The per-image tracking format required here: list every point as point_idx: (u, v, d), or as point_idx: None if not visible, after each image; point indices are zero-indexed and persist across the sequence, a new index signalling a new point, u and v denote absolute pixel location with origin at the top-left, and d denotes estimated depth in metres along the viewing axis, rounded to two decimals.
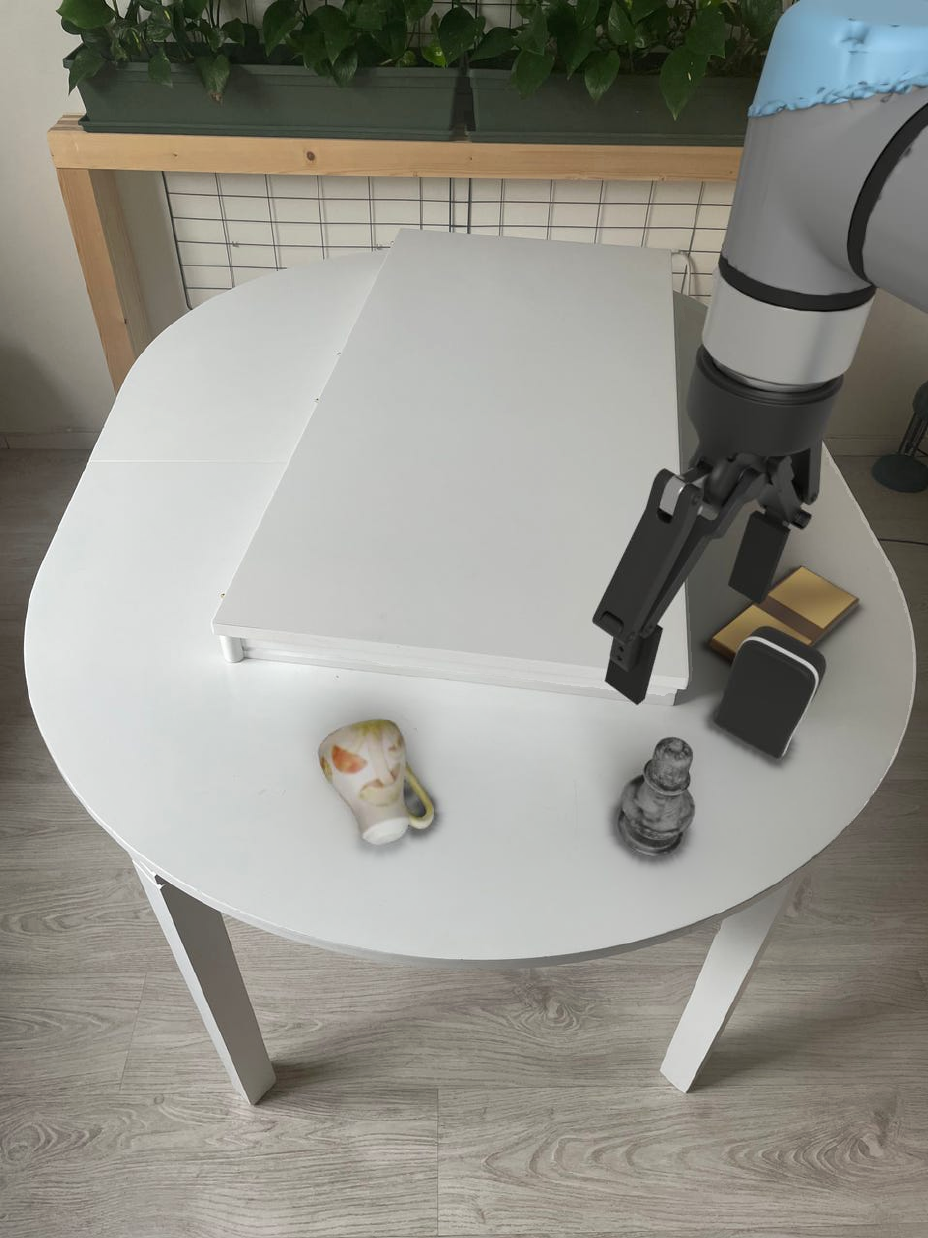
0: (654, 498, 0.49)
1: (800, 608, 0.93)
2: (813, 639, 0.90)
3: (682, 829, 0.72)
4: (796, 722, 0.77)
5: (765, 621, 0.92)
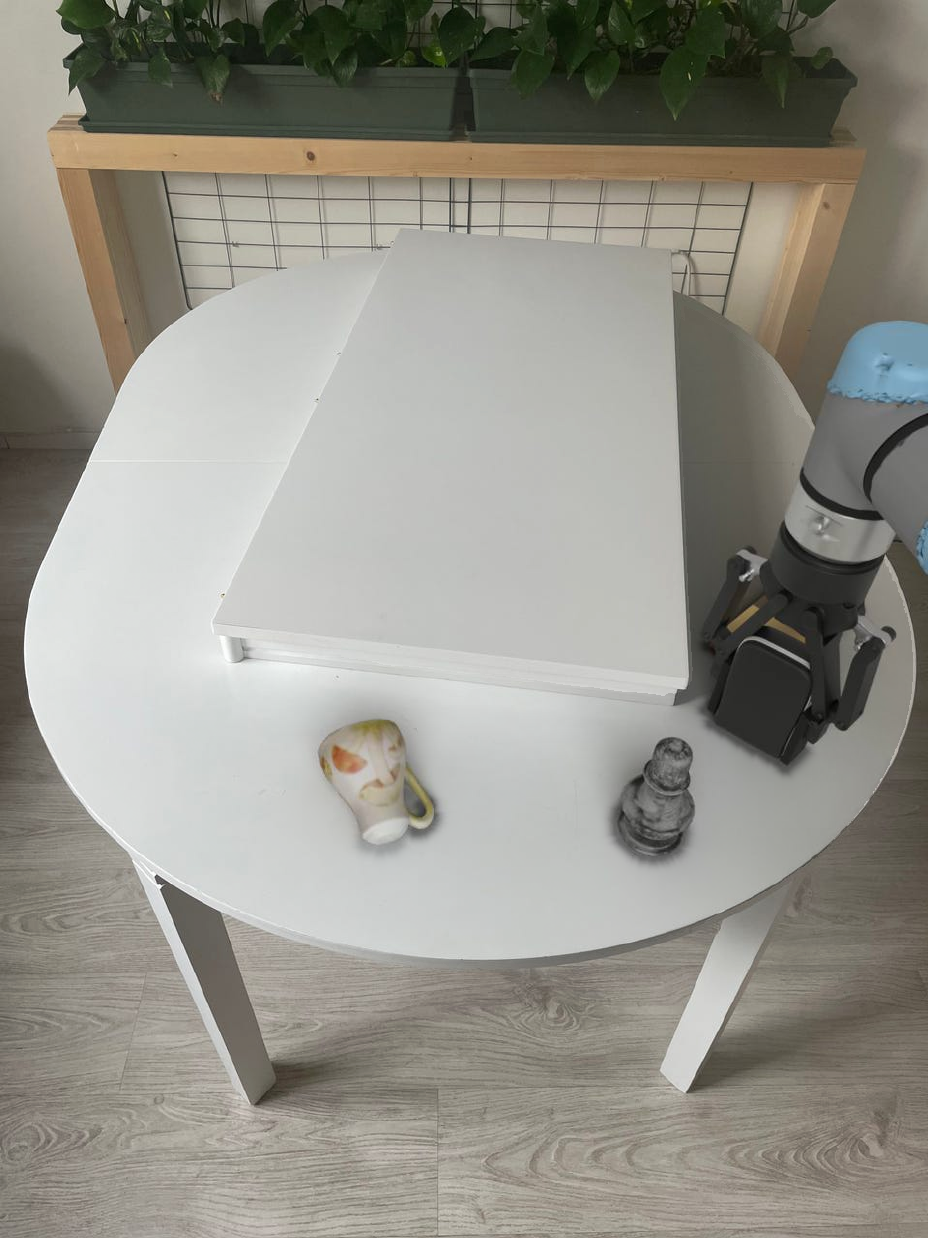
0: (875, 658, 0.69)
1: None
2: None
3: (682, 829, 0.72)
4: (795, 722, 0.77)
5: None
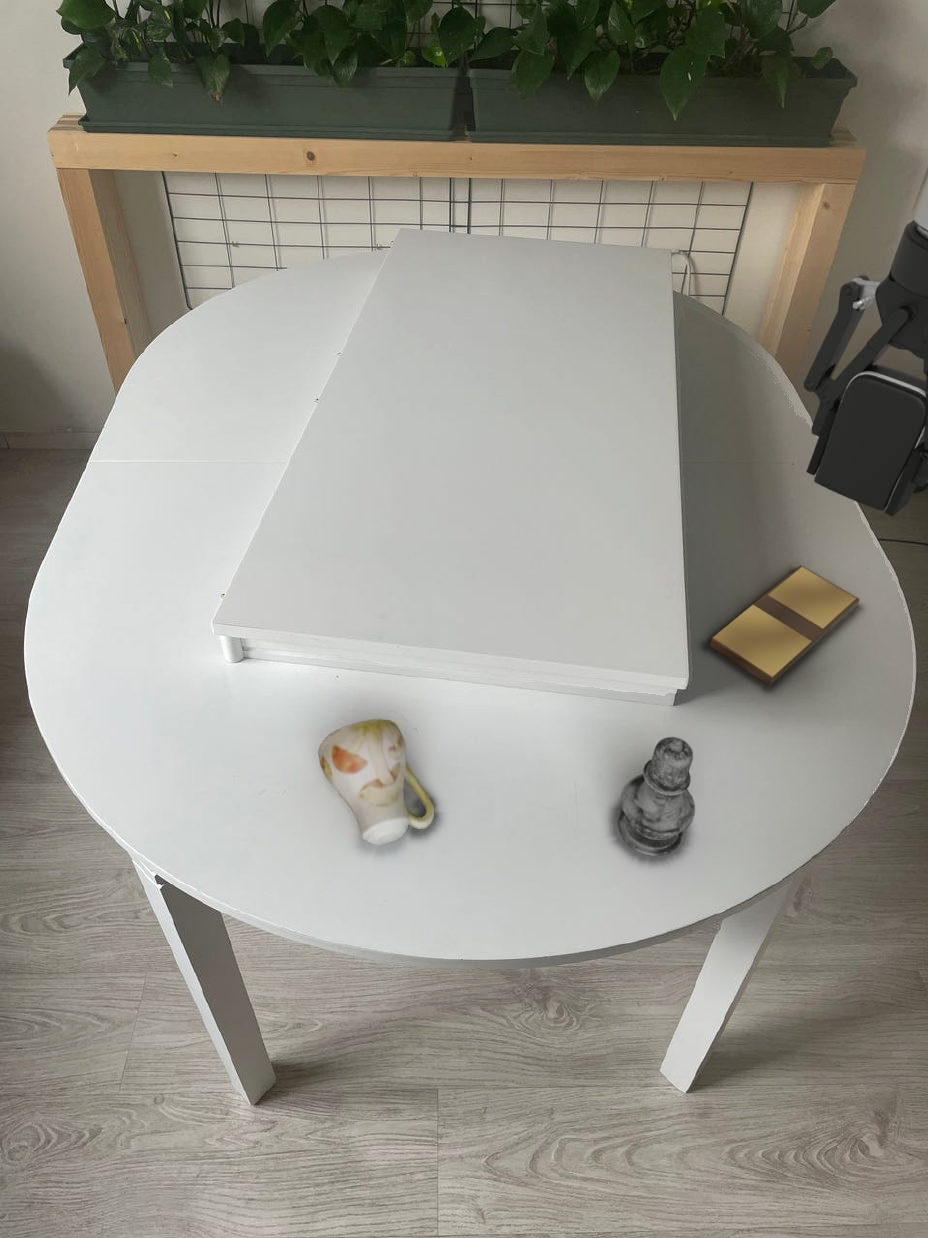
0: None
1: (800, 608, 0.93)
2: (813, 639, 0.90)
3: (682, 829, 0.72)
4: (905, 461, 0.76)
5: (765, 621, 0.92)
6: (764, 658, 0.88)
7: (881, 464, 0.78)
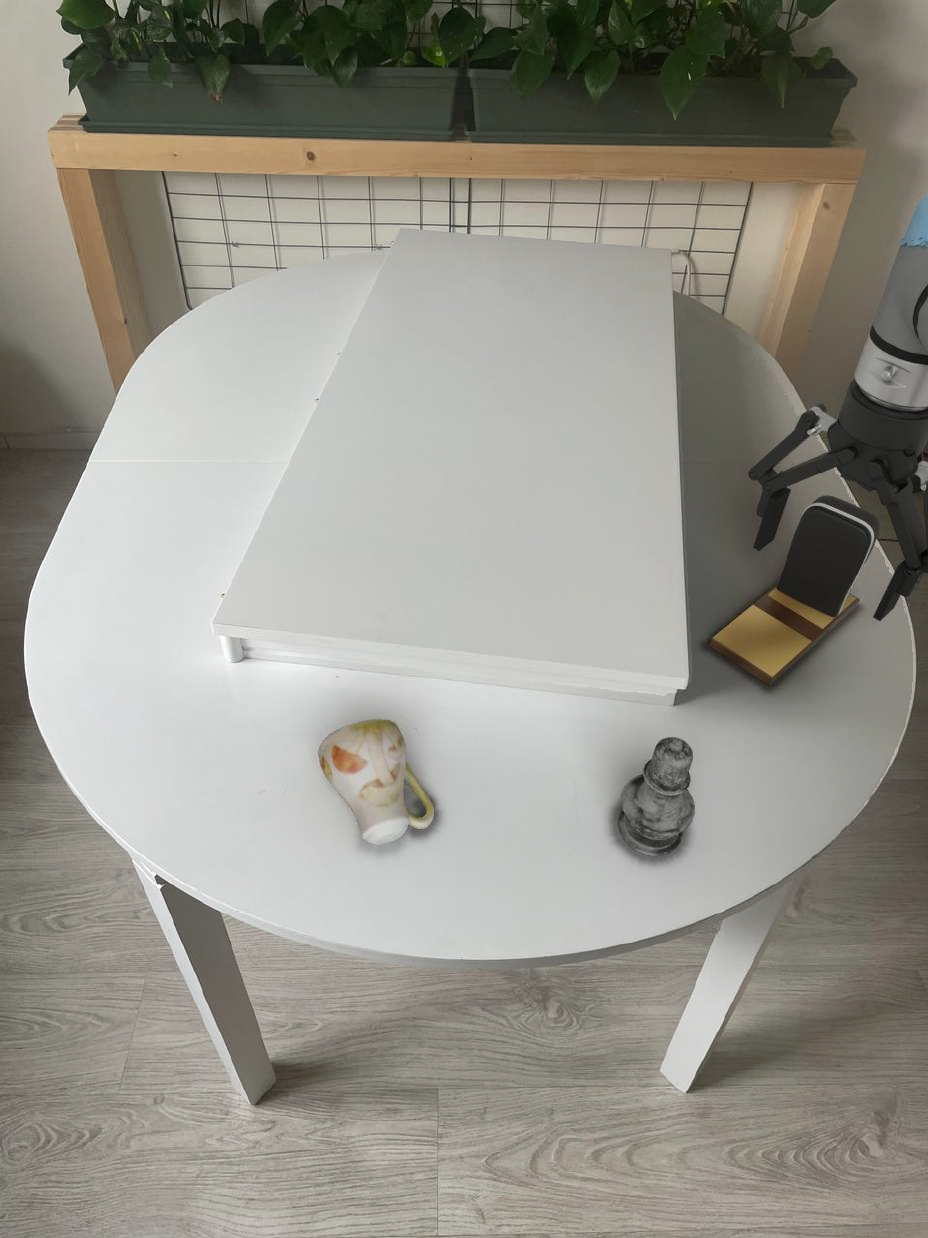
0: None
1: (800, 608, 0.93)
2: (813, 639, 0.90)
3: (682, 829, 0.72)
4: (852, 579, 0.88)
5: (765, 621, 0.92)
6: (764, 658, 0.88)
7: (832, 580, 0.89)
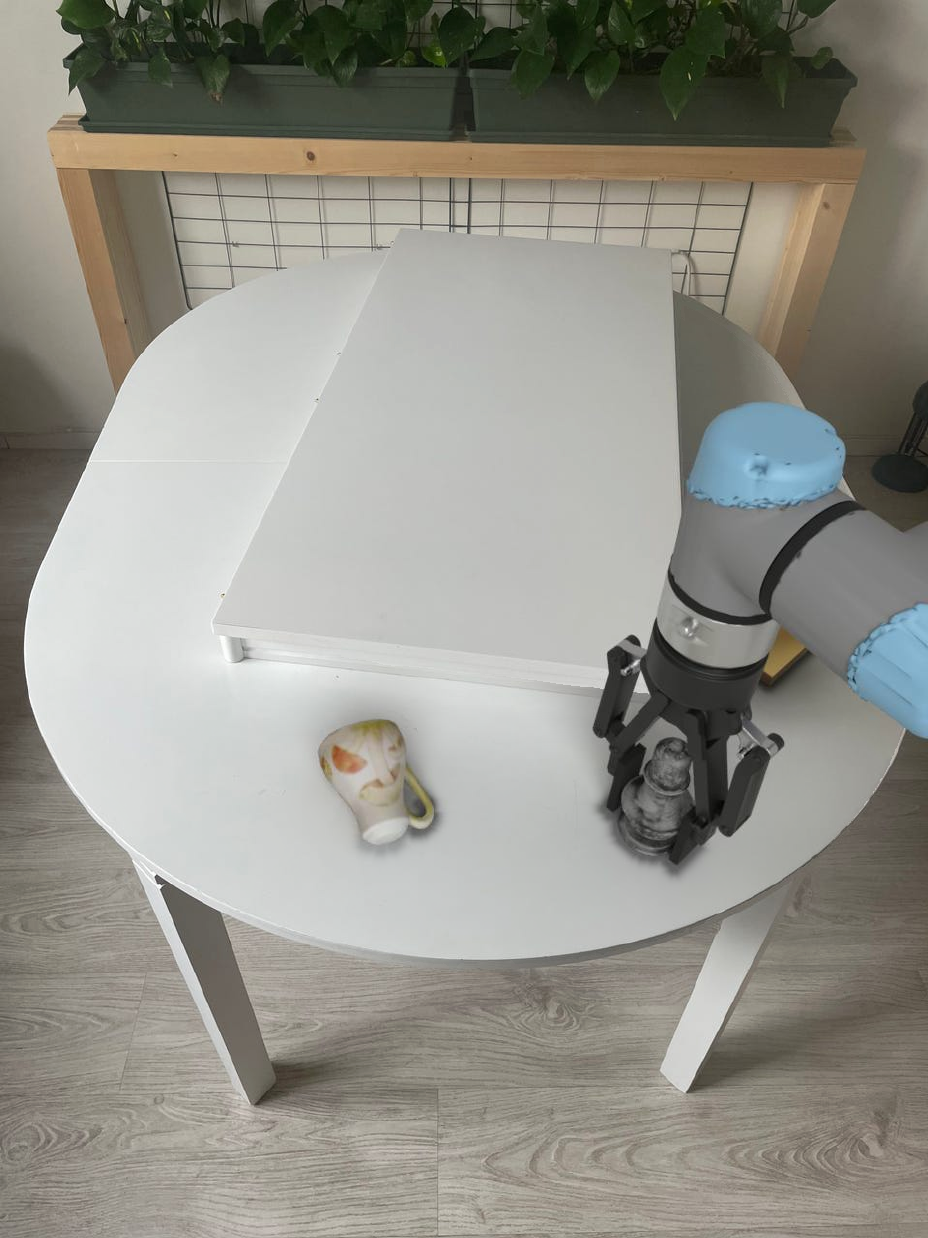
0: (759, 769, 0.61)
1: None
2: None
3: None
4: None
5: None
6: None
7: None
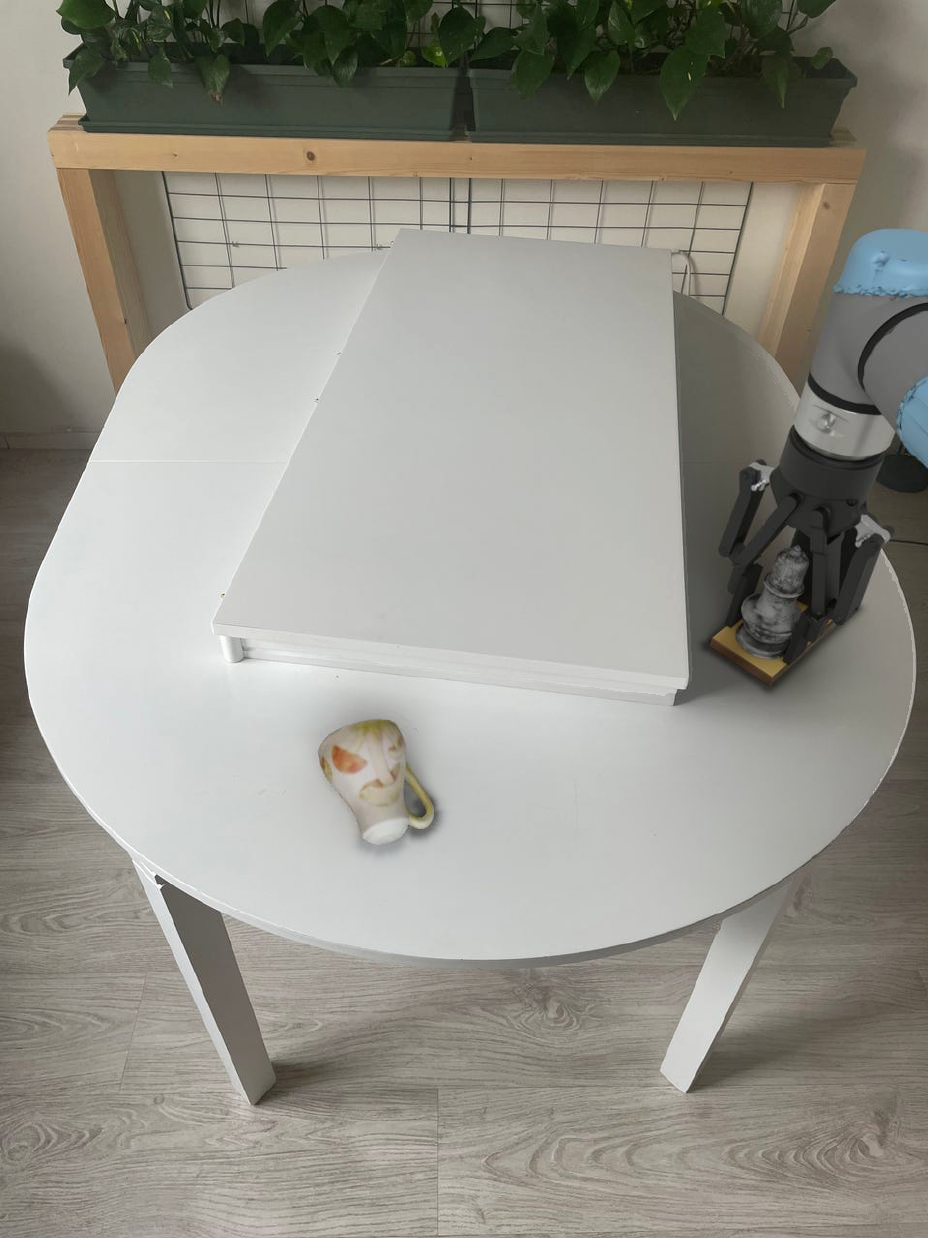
0: (874, 553, 0.75)
1: None
2: None
3: None
4: None
5: None
6: None
7: None
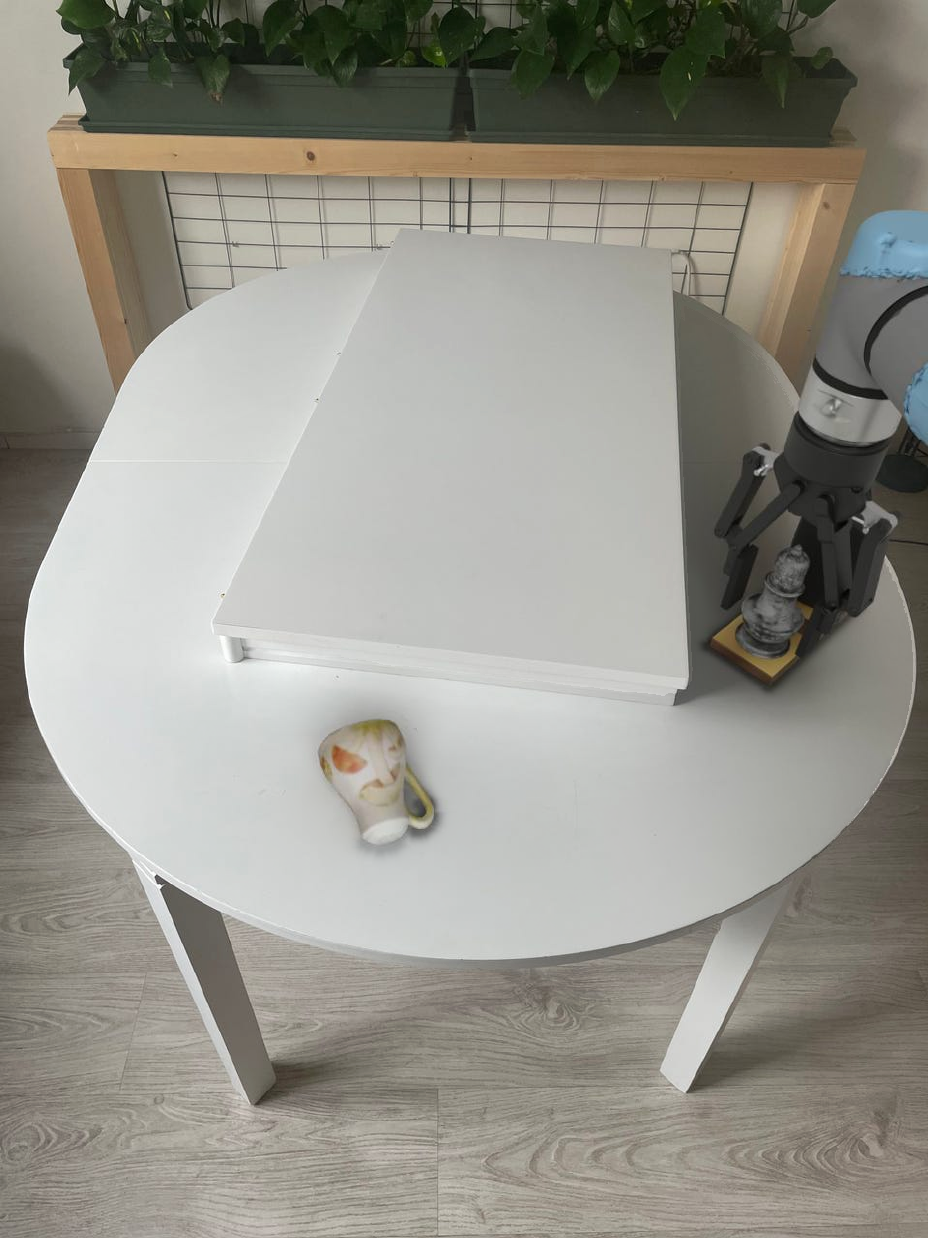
0: (883, 539, 0.74)
1: (800, 608, 0.93)
2: None
3: (795, 631, 0.86)
4: (852, 579, 0.88)
5: None
6: None
7: None
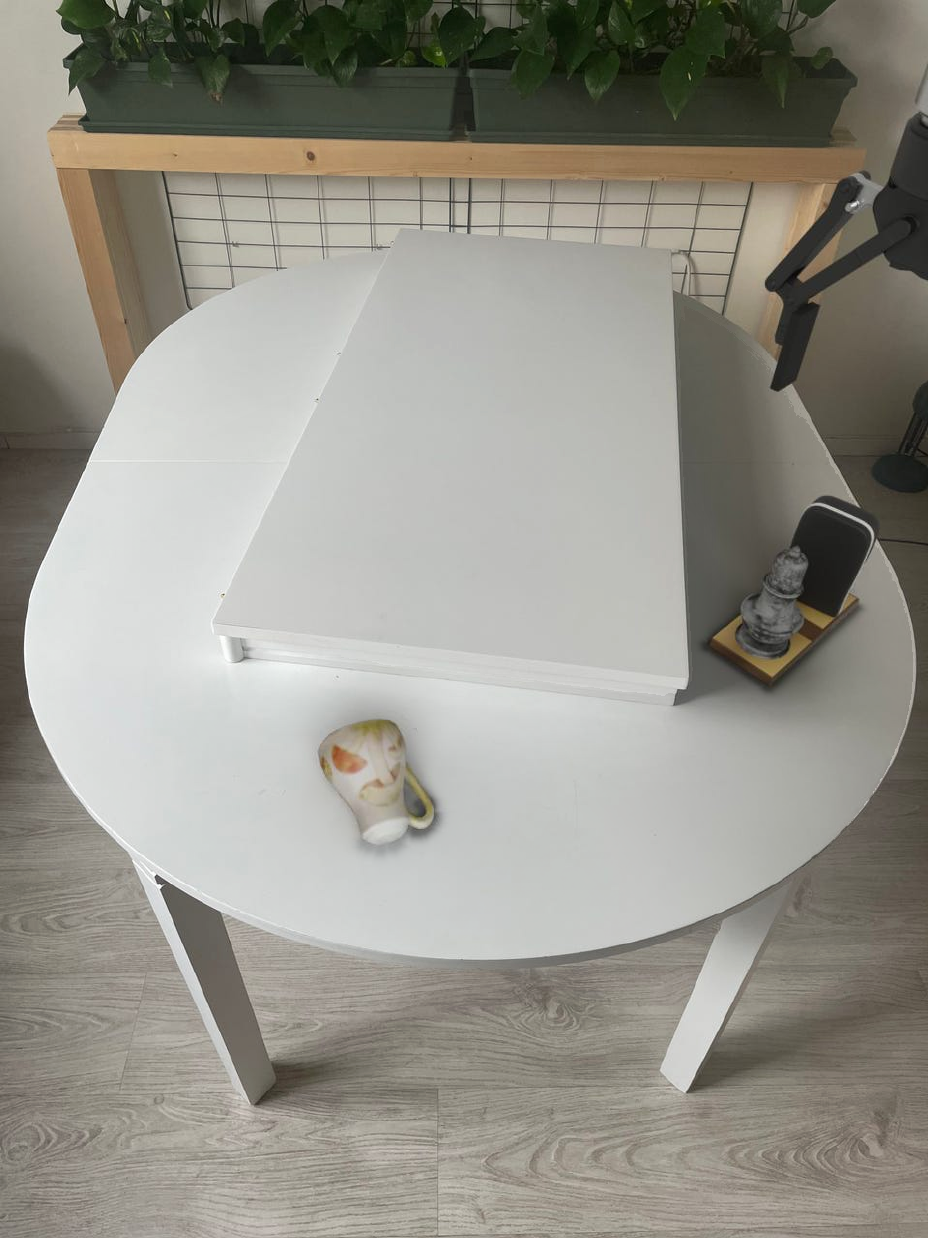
0: None
1: (800, 608, 0.93)
2: (813, 639, 0.90)
3: (794, 631, 0.86)
4: (852, 579, 0.88)
5: None
6: None
7: (832, 580, 0.89)
